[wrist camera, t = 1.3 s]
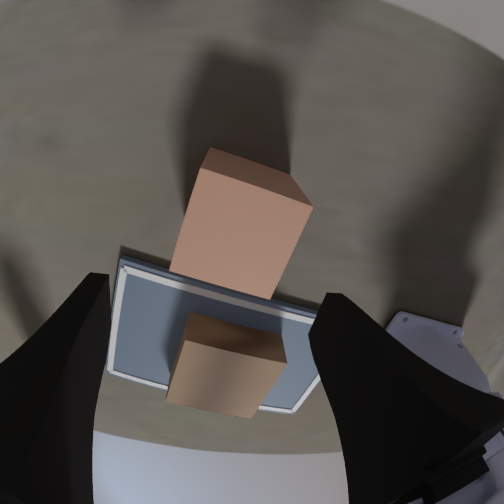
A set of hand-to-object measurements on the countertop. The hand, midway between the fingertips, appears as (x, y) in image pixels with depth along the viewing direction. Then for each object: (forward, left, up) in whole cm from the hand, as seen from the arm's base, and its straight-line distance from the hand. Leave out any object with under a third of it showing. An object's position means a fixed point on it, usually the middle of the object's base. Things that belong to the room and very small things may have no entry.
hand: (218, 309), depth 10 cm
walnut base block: (-4, +11, -10) cm, 16 cm away
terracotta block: (-1, -1, -10) cm, 10 cm away
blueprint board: (-4, +11, -10) cm, 16 cm away
